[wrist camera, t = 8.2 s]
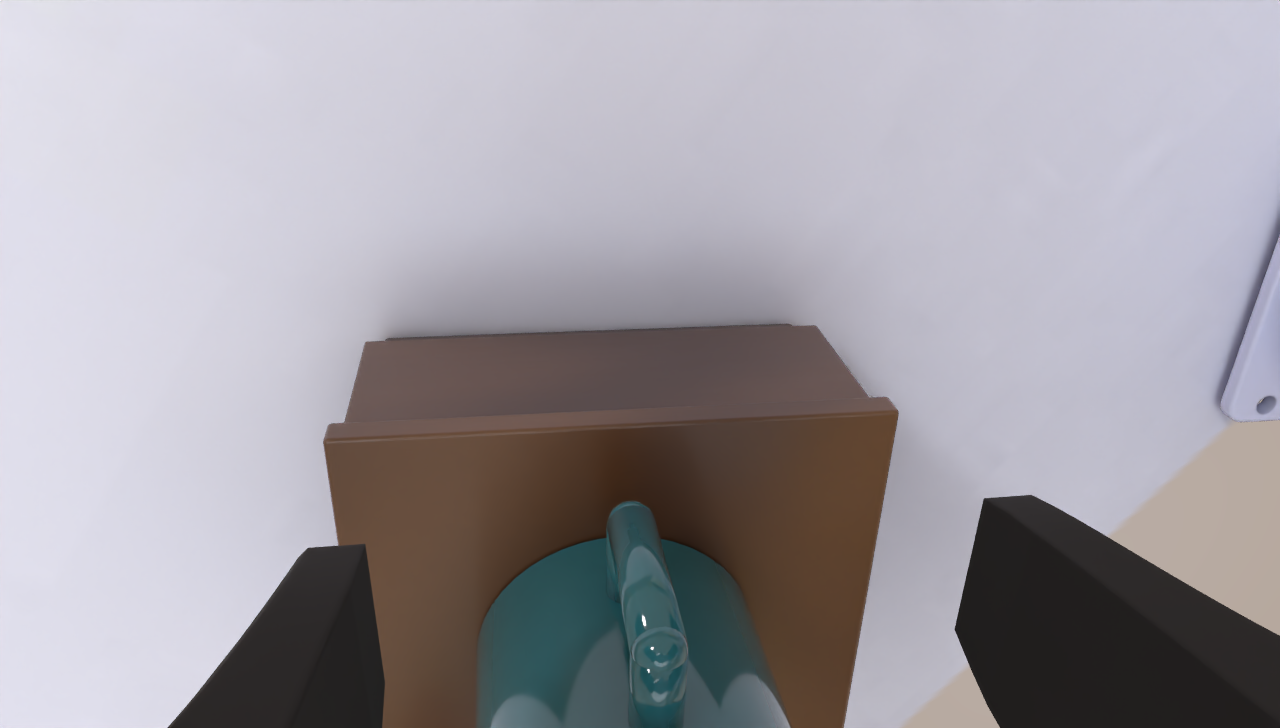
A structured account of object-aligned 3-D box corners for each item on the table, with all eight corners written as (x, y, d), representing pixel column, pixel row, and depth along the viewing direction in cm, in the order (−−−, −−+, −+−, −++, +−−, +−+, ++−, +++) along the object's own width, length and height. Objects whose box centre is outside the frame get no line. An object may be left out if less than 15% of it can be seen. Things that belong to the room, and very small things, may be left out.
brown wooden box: (827, 300, 21) (916, 410, 17) (784, 636, 26) (846, 792, 21) (358, 316, 20) (322, 440, 15) (399, 668, 24) (381, 842, 20)
